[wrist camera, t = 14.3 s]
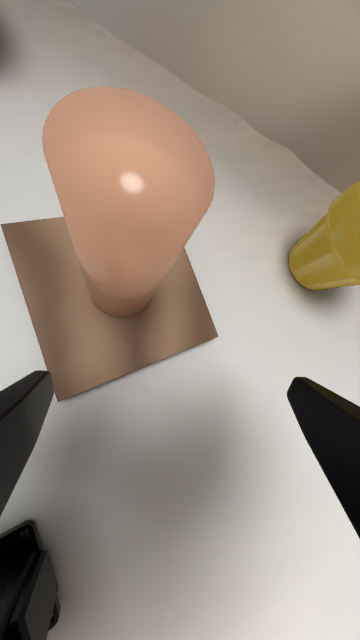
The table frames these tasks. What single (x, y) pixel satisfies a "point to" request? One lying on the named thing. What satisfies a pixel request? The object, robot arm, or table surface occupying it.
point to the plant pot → (331, 246)
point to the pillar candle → (125, 190)
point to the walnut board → (99, 312)
